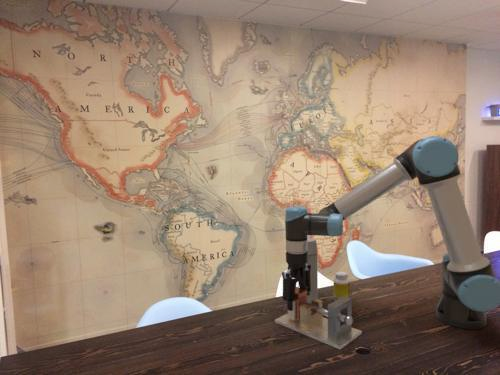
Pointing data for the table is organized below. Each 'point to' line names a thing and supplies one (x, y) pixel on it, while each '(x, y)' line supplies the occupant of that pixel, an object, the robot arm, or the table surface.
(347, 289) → the pill bottle
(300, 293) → the mallet
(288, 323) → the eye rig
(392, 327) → the table surface
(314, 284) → the water bottle
